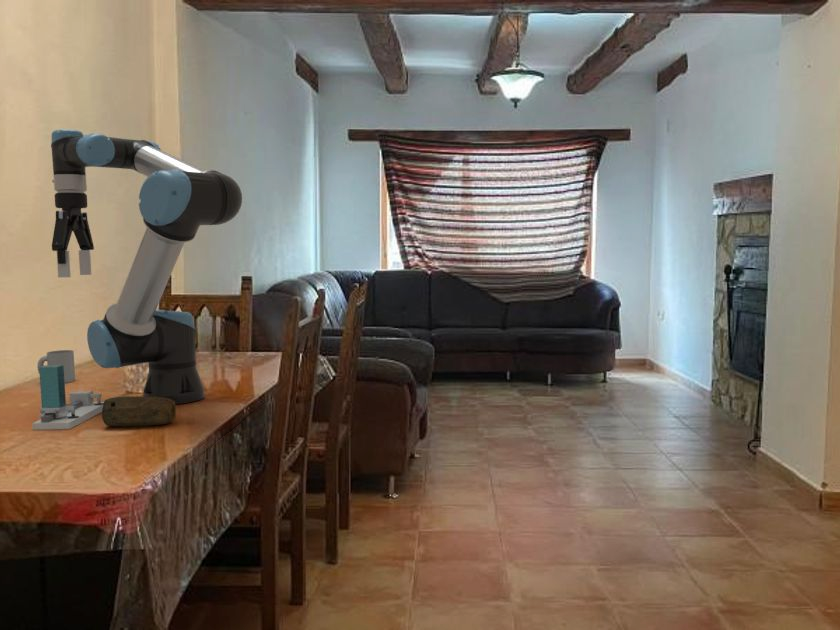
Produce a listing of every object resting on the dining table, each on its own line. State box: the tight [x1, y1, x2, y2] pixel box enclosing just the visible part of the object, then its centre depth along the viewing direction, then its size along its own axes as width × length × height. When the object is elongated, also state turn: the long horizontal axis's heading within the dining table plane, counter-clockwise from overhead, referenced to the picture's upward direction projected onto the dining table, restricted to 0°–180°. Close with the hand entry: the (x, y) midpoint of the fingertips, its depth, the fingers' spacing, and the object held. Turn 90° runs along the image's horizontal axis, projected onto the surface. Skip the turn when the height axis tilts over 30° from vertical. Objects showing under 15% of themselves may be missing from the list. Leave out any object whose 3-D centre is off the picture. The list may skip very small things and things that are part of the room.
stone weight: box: [101, 395, 177, 428], centre depth 171 cm, size 15×7×7 cm, turn 101°
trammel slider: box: [38, 364, 76, 418], centre depth 172 cm, size 7×4×11 cm, turn 90°
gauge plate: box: [31, 390, 104, 431], centre depth 179 cm, size 8×22×4 cm, turn 0°
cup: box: [37, 349, 76, 384], centre depth 228 cm, size 7×10×9 cm
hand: (75, 276), depth 198 cm, fingers open, 13 cm apart
